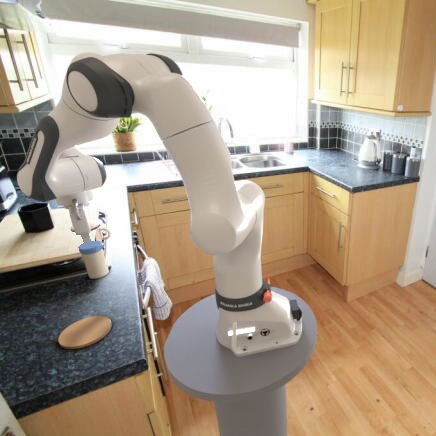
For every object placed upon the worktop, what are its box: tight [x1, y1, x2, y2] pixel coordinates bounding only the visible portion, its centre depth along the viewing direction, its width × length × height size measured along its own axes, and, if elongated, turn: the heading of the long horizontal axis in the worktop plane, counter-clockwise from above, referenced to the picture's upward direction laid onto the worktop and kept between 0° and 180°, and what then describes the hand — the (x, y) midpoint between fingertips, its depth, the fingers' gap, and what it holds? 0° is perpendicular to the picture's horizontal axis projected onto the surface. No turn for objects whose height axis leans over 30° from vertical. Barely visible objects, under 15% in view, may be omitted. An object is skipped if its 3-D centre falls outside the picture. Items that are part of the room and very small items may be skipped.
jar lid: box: [77, 241, 104, 255], centre depth 102 cm, size 6×6×2 cm
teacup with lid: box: [70, 219, 112, 241], centre depth 120 cm, size 12×9×12 cm
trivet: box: [57, 315, 113, 350], centre depth 82 cm, size 11×11×1 cm
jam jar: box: [81, 248, 110, 279], centre depth 104 cm, size 6×6×10 cm
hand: (86, 236), depth 100 cm, fingers open, 7 cm apart
